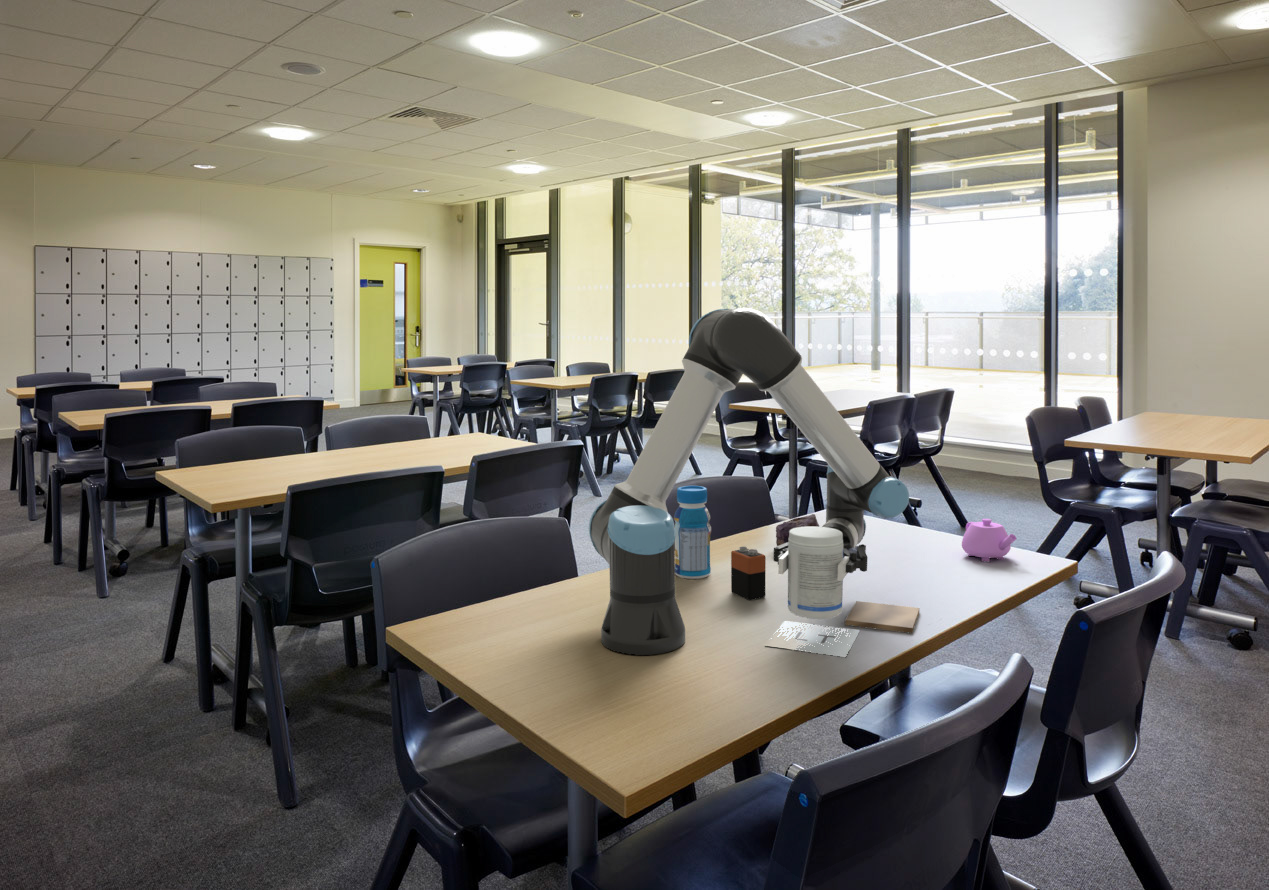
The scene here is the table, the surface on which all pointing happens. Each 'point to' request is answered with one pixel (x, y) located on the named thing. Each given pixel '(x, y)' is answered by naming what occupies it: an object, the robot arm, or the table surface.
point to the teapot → (986, 540)
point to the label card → (820, 638)
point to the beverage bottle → (692, 533)
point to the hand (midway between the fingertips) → (809, 569)
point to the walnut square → (883, 616)
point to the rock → (784, 528)
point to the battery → (748, 573)
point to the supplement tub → (814, 572)
